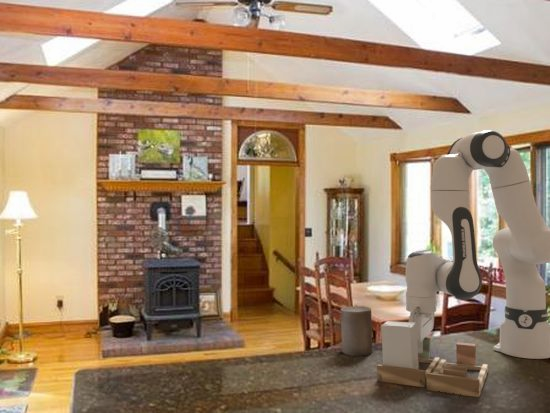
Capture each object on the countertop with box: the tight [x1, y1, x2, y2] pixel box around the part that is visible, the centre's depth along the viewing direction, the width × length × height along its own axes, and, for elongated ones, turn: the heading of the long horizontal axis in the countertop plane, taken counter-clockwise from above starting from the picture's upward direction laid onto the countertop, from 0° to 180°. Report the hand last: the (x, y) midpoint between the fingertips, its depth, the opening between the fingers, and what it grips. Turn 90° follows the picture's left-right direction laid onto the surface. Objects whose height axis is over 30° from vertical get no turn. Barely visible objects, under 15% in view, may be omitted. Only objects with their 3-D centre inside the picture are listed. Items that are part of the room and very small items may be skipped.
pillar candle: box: [340, 304, 373, 357], centre depth 168 cm, size 10×10×15 cm
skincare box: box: [380, 320, 420, 369], centre depth 141 cm, size 8×6×15 cm
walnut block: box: [442, 364, 468, 377], centre depth 134 cm, size 5×5×5 cm
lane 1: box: [376, 337, 441, 388], centre depth 149 cm, size 27×12×6 cm, turn 153°
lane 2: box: [426, 341, 489, 398], centre depth 141 cm, size 27×12×6 cm, turn 153°
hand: (421, 351), depth 160 cm, fingers open, 2 cm apart
